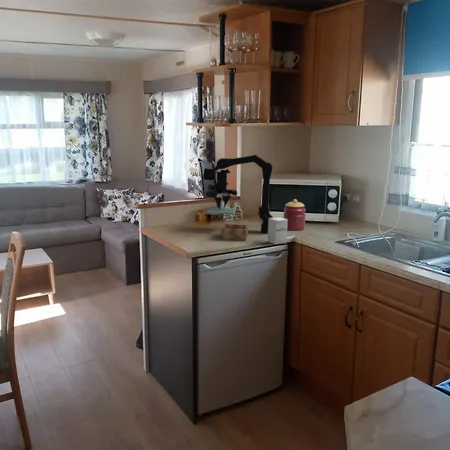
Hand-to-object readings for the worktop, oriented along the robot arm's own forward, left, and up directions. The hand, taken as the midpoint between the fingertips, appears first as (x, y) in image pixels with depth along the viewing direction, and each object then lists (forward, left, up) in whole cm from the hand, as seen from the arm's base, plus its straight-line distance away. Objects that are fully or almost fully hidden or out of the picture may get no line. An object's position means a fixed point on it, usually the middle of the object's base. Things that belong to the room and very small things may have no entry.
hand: (221, 208), depth 270 cm
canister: (-42, -15, -13) cm, 46 cm away
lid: (0, 0, -2) cm, 2 cm away
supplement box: (-33, +21, -13) cm, 41 cm away
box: (-10, +15, -13) cm, 22 cm away
